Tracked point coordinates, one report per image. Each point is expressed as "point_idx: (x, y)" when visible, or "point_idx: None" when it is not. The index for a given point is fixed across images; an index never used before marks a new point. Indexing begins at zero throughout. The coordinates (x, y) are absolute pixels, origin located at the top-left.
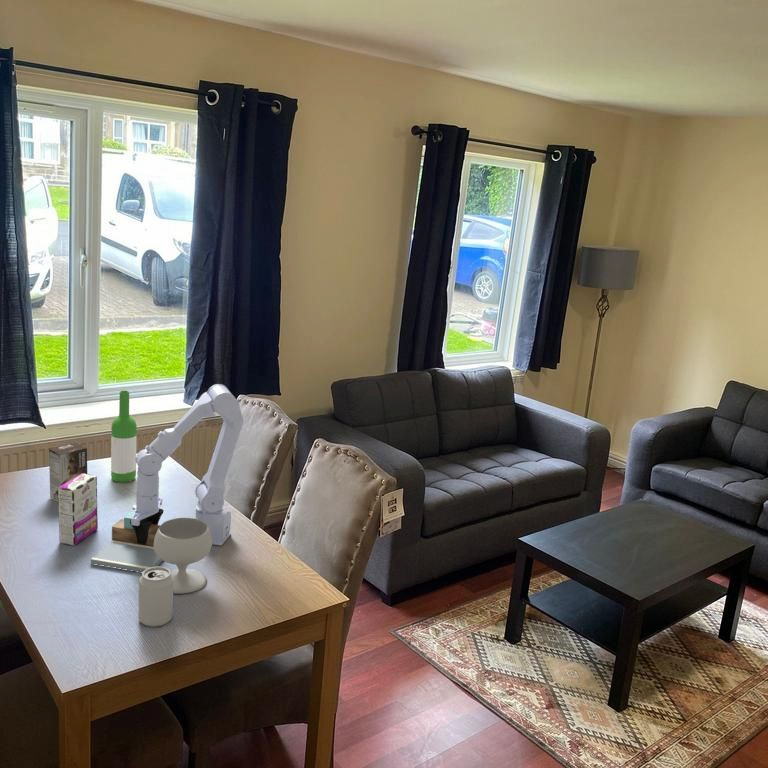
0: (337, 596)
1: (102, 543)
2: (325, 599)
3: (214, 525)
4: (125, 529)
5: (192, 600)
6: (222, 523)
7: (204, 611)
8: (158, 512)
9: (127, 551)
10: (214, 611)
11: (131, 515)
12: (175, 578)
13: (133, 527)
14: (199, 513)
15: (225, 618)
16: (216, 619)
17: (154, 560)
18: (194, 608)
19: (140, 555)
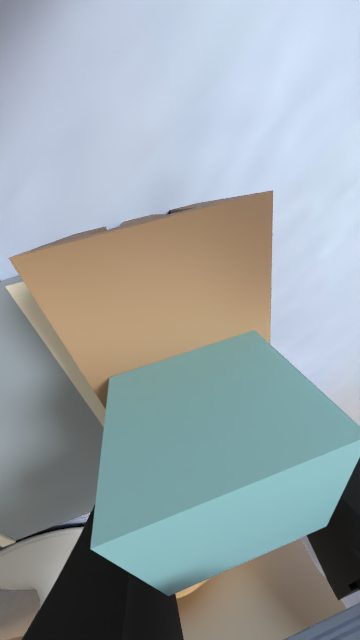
0: (190, 592)
1: (7, 174)
2: (176, 595)
3: (310, 544)
4: (101, 397)
5: (24, 591)
6: (317, 567)
7: (15, 610)
8: (343, 596)
9: (19, 434)
10: (32, 610)
11: (232, 525)
12: (33, 584)
13: (73, 556)
14: (356, 599)
15: (32, 619)
16: (15, 621)
17: (63, 515)
18: (5, 606)
19: (47, 478)
